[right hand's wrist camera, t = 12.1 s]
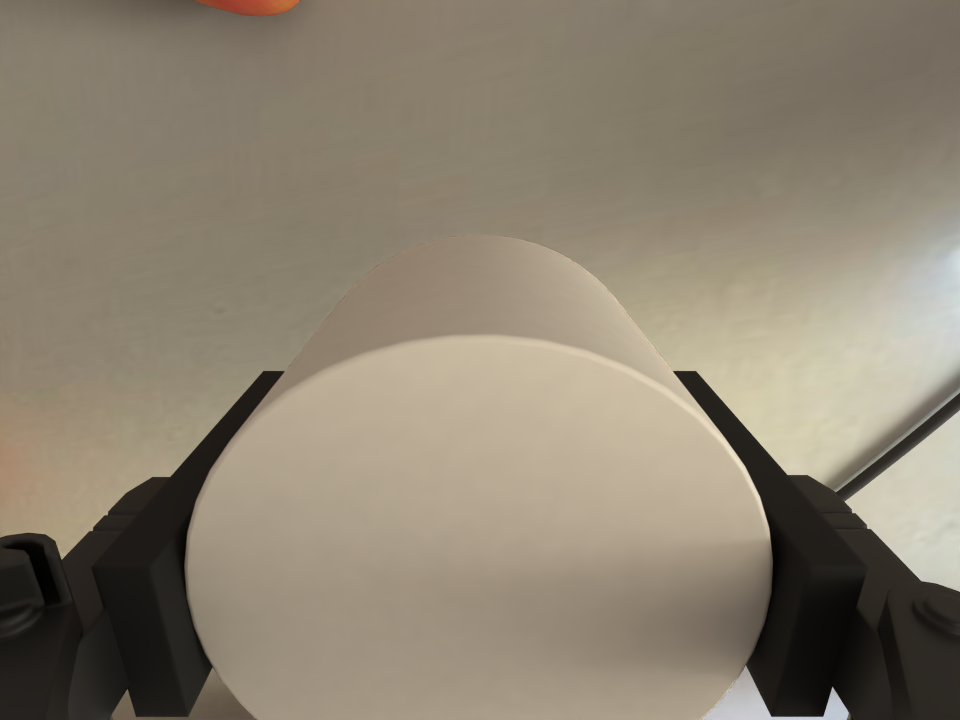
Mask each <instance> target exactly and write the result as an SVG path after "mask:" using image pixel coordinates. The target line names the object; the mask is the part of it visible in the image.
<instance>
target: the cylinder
mask: <svg viewBox="0 0 960 720" xmlns="http://www.w3.org/2000/svg"><path fill="white" fill-rule="evenodd" d="M184 568H185V582H186V595H187V601H188V605H189V609H190V613H191V617H192V621H193V625H194V628H195V631H196V633H197V635H198V638H199V640H200V643H201V645H202V647H203V650H204V652H205V654H206V656H207V658H208V659H209V661H210V663H211V664H212V666H213V668H214V669H215V671H216V673H217V674H218V676H219V678H220V679H221V681H222V682H223V683H224V685H225V686H226V687H227V688H228V689H229V691H230V692H231V693H232V694H233V696H234V697H235V698H236V699H237V701H238V702H239V703H240V704H241V705H242V706H243V707H244V708H245V709H246V710H247V711H248V712H249V713H250V714H251V715H252V716H253V717H254V718H255V719H256V720H702V719H703V718H704V717H705V716H706V715H707V714H708V713H709V712H710V711H711V710H712V709H713V708H714V707H715V706H716V705H717V704H718V703H719V702H720V701H721V699H722V698H723V697H724V695H725V694H726V693H727V692H728V690H729V689H730V688H731V686H732V685H733V684H734V682H735V681H736V680H737V679H738V677H739V676H740V674H741V672H742V671H743V669H744V667H745V665H746V664H747V662H748V660H749V658H750V657H751V655H752V653H753V651H754V649H755V647H756V644H757V642H758V639H759V636H760V634H761V631H762V629H763V626H764V624H765V620H766V615H767V611H768V606H769V602H770V597H771V591H772V572H773V557H772V548H771V540H770V531H769V526H768V522H767V519H766V516H765V512H764V509H763V506H762V502H761V499H760V496H759V494H758V492H757V490H756V488H755V486H754V484H753V482H752V480H751V478H750V475H749V473H748V471H747V469H746V467H745V466H744V464H743V463H742V461H741V460H740V459H739V457H738V456H737V454H736V453H735V451H734V450H733V449H732V447H731V446H730V444H729V443H728V442H727V440H726V439H725V437H724V436H723V435H722V434H721V432H720V431H719V430H718V428H717V427H716V426H715V425H714V423H713V422H712V421H711V420H710V418H709V417H708V416H707V414H706V413H705V412H704V411H703V409H702V408H701V407H700V406H699V404H698V403H697V402H696V400H695V399H694V398H693V397H692V395H691V394H690V393H689V392H688V390H687V389H686V388H685V386H684V385H683V384H682V383H681V381H680V380H679V379H678V378H677V376H676V375H675V374H674V372H673V371H672V370H671V369H670V367H669V366H668V365H667V364H666V362H665V361H664V360H663V358H662V357H661V356H660V355H659V353H658V352H657V351H656V350H655V348H654V347H653V346H652V344H651V343H650V342H649V341H648V339H647V338H646V337H645V336H644V334H643V333H642V332H641V330H640V329H639V328H638V327H637V325H636V324H635V323H634V322H633V320H632V319H631V318H630V316H629V315H628V314H627V313H626V311H625V310H624V309H623V308H622V306H621V305H620V304H619V302H618V301H617V300H616V299H615V297H614V296H613V295H612V294H611V293H610V292H609V291H608V290H607V289H606V287H605V286H604V285H603V284H602V283H601V282H600V281H599V280H598V279H597V278H596V277H594V276H593V275H592V274H590V273H589V272H588V271H587V270H585V269H584V268H583V267H581V266H580V265H579V264H577V263H575V262H574V261H572V260H570V259H569V258H567V257H565V256H563V255H562V254H560V253H558V252H556V251H553V250H551V249H548V248H546V247H543V246H541V245H539V244H536V243H532V242H528V241H524V240H520V239H517V238H512V237H504V236H496V235H462V236H455V237H448V238H441V239H437V240H434V241H430V242H427V243H423V244H420V245H417V246H415V247H412V248H410V249H408V250H405V251H403V252H401V253H398V254H396V255H395V256H393V257H391V258H390V259H388V260H386V261H385V262H383V263H381V264H380V265H378V266H377V267H375V268H374V269H373V270H372V271H370V272H369V273H368V274H367V275H365V276H364V277H363V278H362V279H361V280H359V281H358V282H357V284H356V285H355V286H354V287H353V288H352V289H351V290H350V291H349V292H348V293H347V294H346V295H345V296H344V298H343V299H342V300H341V301H340V303H339V304H338V305H337V306H336V308H335V309H334V310H333V312H332V313H331V314H330V315H329V317H328V318H327V319H326V320H325V322H324V323H323V324H322V325H321V327H320V328H319V329H318V330H317V332H316V333H315V334H314V335H313V337H312V338H311V339H310V341H309V342H308V343H307V344H306V346H305V347H304V348H303V349H302V351H301V352H300V353H299V354H298V356H297V357H296V358H295V359H294V361H293V362H292V363H291V364H290V366H289V367H288V368H287V370H286V371H285V372H284V373H283V375H282V376H281V377H280V378H279V380H278V381H277V382H276V383H275V385H274V386H273V387H272V388H271V390H270V391H269V392H268V393H267V395H266V396H265V397H264V399H263V400H262V401H261V402H260V404H259V405H258V406H257V407H256V409H255V410H254V411H253V412H252V414H251V415H250V416H249V417H248V419H247V420H246V421H245V422H244V424H243V425H242V426H241V428H240V429H239V430H238V431H237V433H236V434H235V435H234V436H233V438H232V439H231V440H230V442H229V443H228V444H227V446H226V447H225V449H224V450H223V452H222V453H221V455H220V456H219V458H218V459H217V461H216V462H215V464H214V465H213V467H212V468H211V469H210V471H209V474H208V476H207V478H206V480H205V482H204V484H203V487H202V489H201V491H200V493H199V495H198V497H197V500H196V502H195V506H194V510H193V514H192V517H191V521H190V525H189V528H188V532H187V543H186V553H185V565H184Z"/></svg>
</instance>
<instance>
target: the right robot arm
mask: <svg viewBox="0 0 960 720" xmlns="http://www.w3.org/2000/svg"><path fill="white" fill-rule="evenodd" d="M284 372H285V371H263V372H262V374H261V375H260V376H259V377H258V378H257V379H256V380H255V381H254V383H253V384H252V385H251V386H250V387H249V388H248V389H247V391H246V392H245V393H244V394H243V395H242V396H241V397H240V399H239V400H238V401H237V402H236V403H235V404H234V405H233V406H232V408H231V409H230V410H229V411H228V412H227V413H226V414H225V416H224V417H223V418H222V419H221V420H220V421H219V422H218V424H217V425H216V426H215V427H214V428H213V429H212V430H211V431H210V433H209V434H208V435H207V436H206V437H205V438H204V439H203V441H202V442H201V443H200V444H199V445H198V446H197V447H196V449H195V450H194V451H193V452H192V453H191V454H190V455H189V457H188V458H187V459H186V460H185V461H184V462H183V463H182V464H181V466H180V467H179V468H178V469H177V470H176V471H175V472H174V474H173V475H172V476H171V477H152V478H150V479H149V480H147V481H145V482H144V483H142V484H140V485H139V486H137V487H135V488H134V489H132V490H130V491H129V492H127V493H126V494H125V495H124V496H123V497H122V498H121V499H120V500H119V501H118V502H117V503H116V504H115V505H114V506H113V507H112V508H111V509H110V510H109V511H108V515H105V516H104V517H103V518H102V519H101V520H100V521H99V522H98V523H97V524H96V525H95V526H94V527H93V531H89V532H88V533H87V534H86V535H85V536H84V537H83V538H82V540H81V541H80V542H79V543H78V544H77V545H76V546H75V547H74V548H73V549H72V550H71V551H70V552H69V553H68V554H67V555H66V556H65V557H64V558H63V559H62V560H61V557H60V554H59V551H58V548H57V545H56V542H55V541H54V540H53V539H51V538H50V537H48V536H47V535H45V534H36V533H23V534H16V535H8V536H4V537H1V538H0V720H113V718H112V715H111V714H112V713H113V711H114V709H115V708H116V706H117V705H118V703H119V701H120V700H121V698H122V697H123V695H124V693H125V692H126V690H127V689H128V691H129V694H130V698H131V701H132V704H133V708H134V711H135V714H136V717H188V716H189V714H190V712H191V710H192V708H193V706H194V704H195V702H196V700H197V698H198V696H199V694H200V692H201V690H202V687H203V685H204V683H205V681H206V679H207V677H208V675H209V673H210V671H211V669H212V667H213V666H212V664H211V663H210V661H209V659H208V658H207V656H206V654H205V652H204V650H203V647H202V645H201V643H200V640H199V638H198V635H197V633H196V631H195V628H194V625H193V621H192V617H191V613H190V609H189V605H188V601H187V595H186V582H185V568H184V565H185V553H186V543H187V532H188V528H189V525H190V521H191V517H192V514H193V510H194V506H195V502H196V500H197V497H198V495H199V493H200V491H201V489H202V487H203V484H204V482H205V480H206V478H207V476H208V474H209V471H210V469H211V468H212V467H213V465H214V464H215V462H216V461H217V459H218V458H219V456H220V455H221V453H222V452H223V450H224V449H225V447H226V446H227V444H228V443H229V442H230V440H231V439H232V438H233V436H234V435H235V434H236V433H237V431H238V430H239V429H240V428H241V426H242V425H243V424H244V422H245V421H246V420H247V419H248V417H249V416H250V415H251V414H252V412H253V411H254V410H255V409H256V407H257V406H258V405H259V404H260V402H261V401H262V400H263V399H264V397H265V396H266V395H267V393H268V392H269V391H270V390H271V388H272V387H273V386H274V385H275V383H276V382H277V381H278V380H279V378H280V377H281V376H282V375H283V373H284ZM673 372H674V374H675V375H676V376H677V378H678V379H679V380H680V381H681V383H682V384H683V385H684V386H685V388H686V389H687V390H688V392H689V393H690V394H691V395H692V397H693V398H694V399H695V400H696V402H697V403H698V404H699V406H700V407H701V408H702V409H703V411H704V412H705V413H706V414H707V416H708V417H709V418H710V420H711V421H712V422H713V423H714V425H715V426H716V427H717V428H718V430H719V431H720V432H721V434H722V435H723V436H724V437H725V439H726V440H727V442H728V443H729V444H730V446H731V447H732V449H733V450H734V451H735V453H736V454H737V456H738V457H739V459H740V460H741V461H742V463H743V464H744V466H745V467H746V469H747V471H748V473H749V475H750V478H751V480H752V482H753V484H754V486H755V488H756V490H757V492H758V494H759V496H760V499H761V502H762V506H763V509H764V512H765V516H766V519H767V522H768V526H769V531H770V540H771V548H772V557H773V572H772V591H771V597H770V602H769V606H768V611H767V615H766V620H765V624H764V626H763V629H762V631H761V634H760V636H759V639H758V642H757V644H756V647H755V649H754V651H753V653H752V655H751V657H750V658H749V660H748V662H747V664H746V666H747V668H748V670H749V672H750V674H751V676H752V678H753V680H754V682H755V684H756V686H757V688H758V690H759V692H760V694H761V696H762V698H763V700H764V702H765V705H766V707H767V709H768V711H769V713H770V715H771V717H823V716H824V713H825V709H826V706H827V703H828V699H829V696H830V693H831V689H832V686H833V688H834V689H835V691H836V693H837V694H838V696H839V697H840V699H841V701H842V702H843V704H844V705H845V707H846V708H847V710H848V712H849V715H848V718H847V720H960V592H959V591H956V590H953V589H950V588H947V587H944V586H942V585H939V584H935V583H929V582H922V581H920V580H919V578H918V577H917V576H916V575H915V574H914V573H913V572H912V571H911V570H910V569H909V568H908V567H907V566H906V565H905V564H904V563H903V562H902V561H901V560H900V559H899V558H898V557H897V556H896V555H895V554H894V553H893V552H892V551H891V550H890V549H889V547H888V546H887V545H886V544H885V543H884V542H883V541H882V540H881V539H880V538H879V537H878V536H877V535H876V534H875V533H874V532H873V531H872V530H871V529H867V525H866V524H865V523H864V522H863V521H862V520H861V519H860V518H859V517H858V515H857V514H856V513H852V509H851V508H850V507H849V506H848V505H847V504H846V503H845V502H844V501H846V500H847V499H848V498H850V497H851V496H852V495H854V494H855V493H856V492H858V491H859V490H860V489H862V488H863V487H864V486H865V485H867V484H868V483H869V482H871V481H872V480H873V479H874V478H876V477H877V476H878V475H880V474H881V473H882V472H883V471H885V470H886V469H887V468H888V467H890V466H891V465H892V464H894V463H895V462H896V461H897V460H899V459H900V458H901V457H902V456H904V455H905V454H906V453H908V452H909V451H910V450H911V449H913V448H914V447H915V446H916V445H918V444H919V443H920V442H921V441H923V440H924V439H925V438H926V437H927V436H929V435H930V434H931V433H932V432H934V431H935V430H936V429H937V428H939V427H940V426H941V425H942V424H943V423H945V422H946V421H947V420H948V419H949V418H951V417H952V416H953V415H954V414H956V413H957V412H958V411H959V410H960V393H959V394H958V395H957V396H955V397H954V398H953V399H952V400H951V401H949V402H948V403H947V404H946V405H945V406H943V407H942V408H941V409H940V410H939V411H937V412H936V413H935V414H934V415H933V416H931V417H930V418H929V419H928V420H927V421H925V422H924V423H923V424H922V425H921V426H919V427H918V428H917V429H916V430H915V431H913V432H912V433H911V434H910V435H908V436H907V437H906V438H905V439H903V440H902V441H901V442H900V443H898V444H897V445H896V446H895V447H893V448H892V449H891V450H890V451H888V452H887V453H886V454H885V455H883V456H882V457H881V458H880V459H878V460H877V461H876V462H875V463H873V464H872V465H871V466H870V467H868V468H867V469H866V470H864V471H863V472H862V473H861V474H859V475H858V476H857V477H856V478H854V479H853V480H852V481H850V482H849V483H848V484H847V485H845V486H844V487H843V488H841V489H840V490H839V491H837V492H836V493H835V492H834V491H833V490H831V489H830V488H828V487H826V486H825V485H823V484H821V483H820V482H818V481H816V480H815V479H813V478H811V477H810V476H808V475H787V474H786V473H785V472H784V471H783V469H782V468H781V467H780V466H779V465H778V464H777V463H776V462H775V460H774V459H773V458H772V457H771V456H770V455H769V454H768V452H767V451H766V450H765V449H764V448H763V447H762V446H761V444H760V443H759V442H758V441H757V440H756V439H755V438H754V437H753V435H752V434H751V433H750V432H749V431H748V430H747V429H746V427H745V426H744V425H743V424H742V423H741V422H740V421H739V419H738V418H737V417H736V416H735V415H734V414H733V413H732V411H731V410H730V409H729V408H728V407H727V406H726V405H725V404H724V402H723V401H722V400H721V399H720V398H719V397H718V396H717V394H716V393H715V392H714V391H713V390H712V389H711V388H710V386H709V385H708V384H707V383H706V382H705V381H704V380H703V379H702V377H701V376H700V375H699V374H698V373H697V372H696V371H673Z"/></svg>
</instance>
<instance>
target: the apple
mask: <svg viewBox="0 0 960 720" xmlns="http://www.w3.org/2000/svg"><path fill="white" fill-rule="evenodd" d="M194 1H196V2H199V3H202V4H205V5H208V6H211V7H214V8H217V9H221V10H224V11H228V12H232V13H237V14H242V15H249V16H269V15H276V14H281V13H283V12H286V11H288V10H290V9H292V8H293V7H294V6H295V5H296V4H297V3H299V1H300V0H194Z"/></svg>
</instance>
